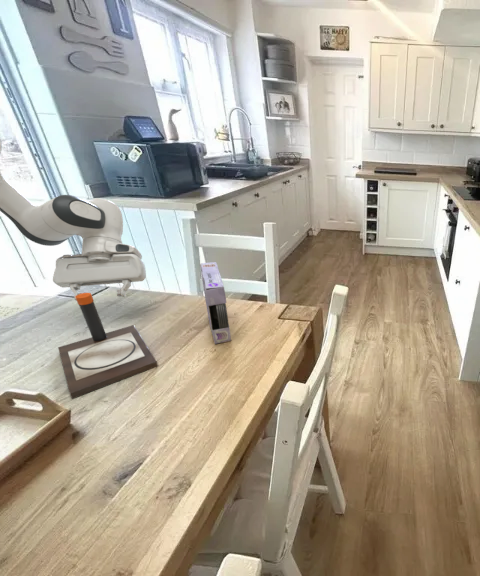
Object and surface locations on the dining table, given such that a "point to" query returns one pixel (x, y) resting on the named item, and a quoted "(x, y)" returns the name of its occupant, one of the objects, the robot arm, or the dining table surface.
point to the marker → (91, 316)
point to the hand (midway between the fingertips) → (100, 298)
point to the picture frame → (105, 360)
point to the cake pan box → (215, 302)
